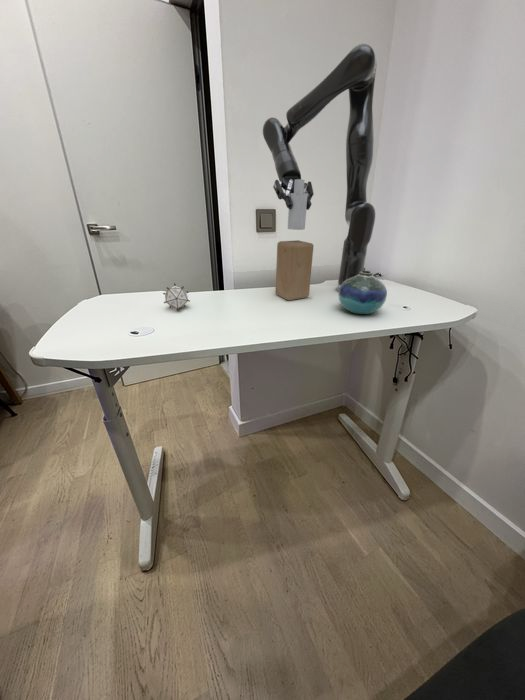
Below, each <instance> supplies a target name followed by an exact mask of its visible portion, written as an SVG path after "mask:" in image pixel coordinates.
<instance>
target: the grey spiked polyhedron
mask: <svg viewBox="0 0 525 700" xmlns="http://www.w3.org/2000/svg"><path fill="white" fill-rule="evenodd" d="M166 289H167V290H166V291H165V292H162V295H164V300H165V301H163V304H168V306H169V308H170V309H171V308H174V309H176V311H177V312H179V311H180V309H181V308H182V307H186V304H187V302H188V303H190V302H191V300H190V299H189V298H188V294H189V290H188V291H186V290H185V289H184V285H183V286H179V285H176V283H173V286H171V287H168V286H167V287H166Z"/></svg>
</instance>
